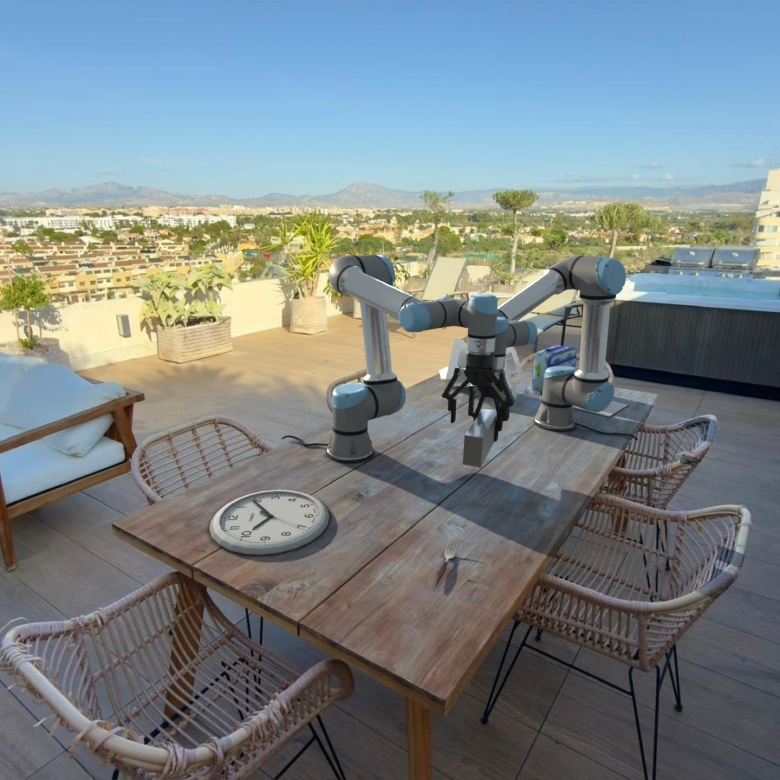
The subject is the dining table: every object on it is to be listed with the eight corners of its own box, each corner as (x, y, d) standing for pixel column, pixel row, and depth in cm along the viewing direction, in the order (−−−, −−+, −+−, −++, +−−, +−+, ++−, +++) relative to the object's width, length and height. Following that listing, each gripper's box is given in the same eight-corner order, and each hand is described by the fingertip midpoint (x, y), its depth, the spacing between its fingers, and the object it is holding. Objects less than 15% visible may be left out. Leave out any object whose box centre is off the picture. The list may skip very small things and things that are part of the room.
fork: (429, 586, 111) (429, 578, 110) (447, 545, 125) (448, 538, 125) (441, 589, 110) (441, 581, 109) (458, 548, 124) (459, 541, 124)
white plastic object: (461, 429, 252) (437, 405, 227) (444, 352, 274) (420, 323, 250) (535, 404, 240) (518, 377, 215) (510, 326, 262) (492, 293, 237)
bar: (481, 434, 171) (482, 408, 168) (497, 437, 169) (499, 410, 166) (462, 464, 149) (464, 434, 147) (480, 467, 148) (482, 437, 145)
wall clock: (327, 546, 121) (194, 551, 119) (327, 552, 122) (195, 557, 119) (330, 485, 150) (223, 488, 147) (330, 490, 150) (224, 493, 148)
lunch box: (548, 398, 236) (553, 353, 229) (527, 393, 243) (531, 349, 237) (575, 387, 253) (581, 344, 247) (555, 382, 260) (560, 341, 254)
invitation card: (608, 416, 214) (573, 407, 224) (608, 416, 214) (573, 408, 224) (628, 404, 229) (594, 396, 238) (628, 405, 229) (594, 397, 238)
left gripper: (432, 350, 143) (430, 423, 150) (525, 359, 135) (518, 436, 141) (440, 345, 150) (437, 415, 156) (529, 353, 141) (522, 426, 147)
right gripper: (459, 367, 159) (455, 438, 166) (520, 374, 153) (513, 447, 160) (465, 362, 166) (461, 430, 173) (524, 368, 160) (517, 438, 167)
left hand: (476, 425), depth 149 cm, fingers open, 13 cm apart
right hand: (486, 438), depth 166 cm, fingers closed on bar, 5 cm apart
